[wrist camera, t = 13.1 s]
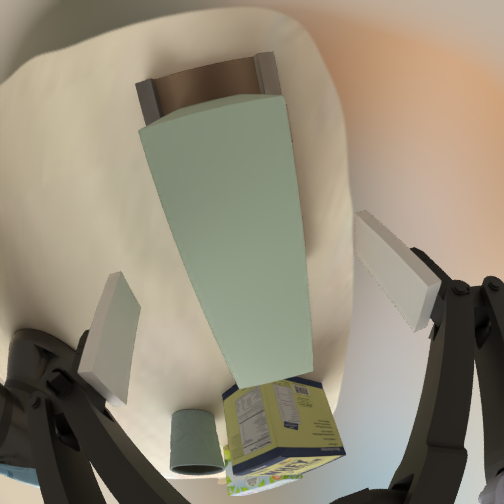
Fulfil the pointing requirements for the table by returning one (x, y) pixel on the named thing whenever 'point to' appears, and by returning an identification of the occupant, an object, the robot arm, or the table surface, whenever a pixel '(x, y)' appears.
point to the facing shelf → (209, 86)
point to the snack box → (252, 480)
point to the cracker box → (238, 228)
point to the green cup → (195, 444)
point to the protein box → (280, 428)
